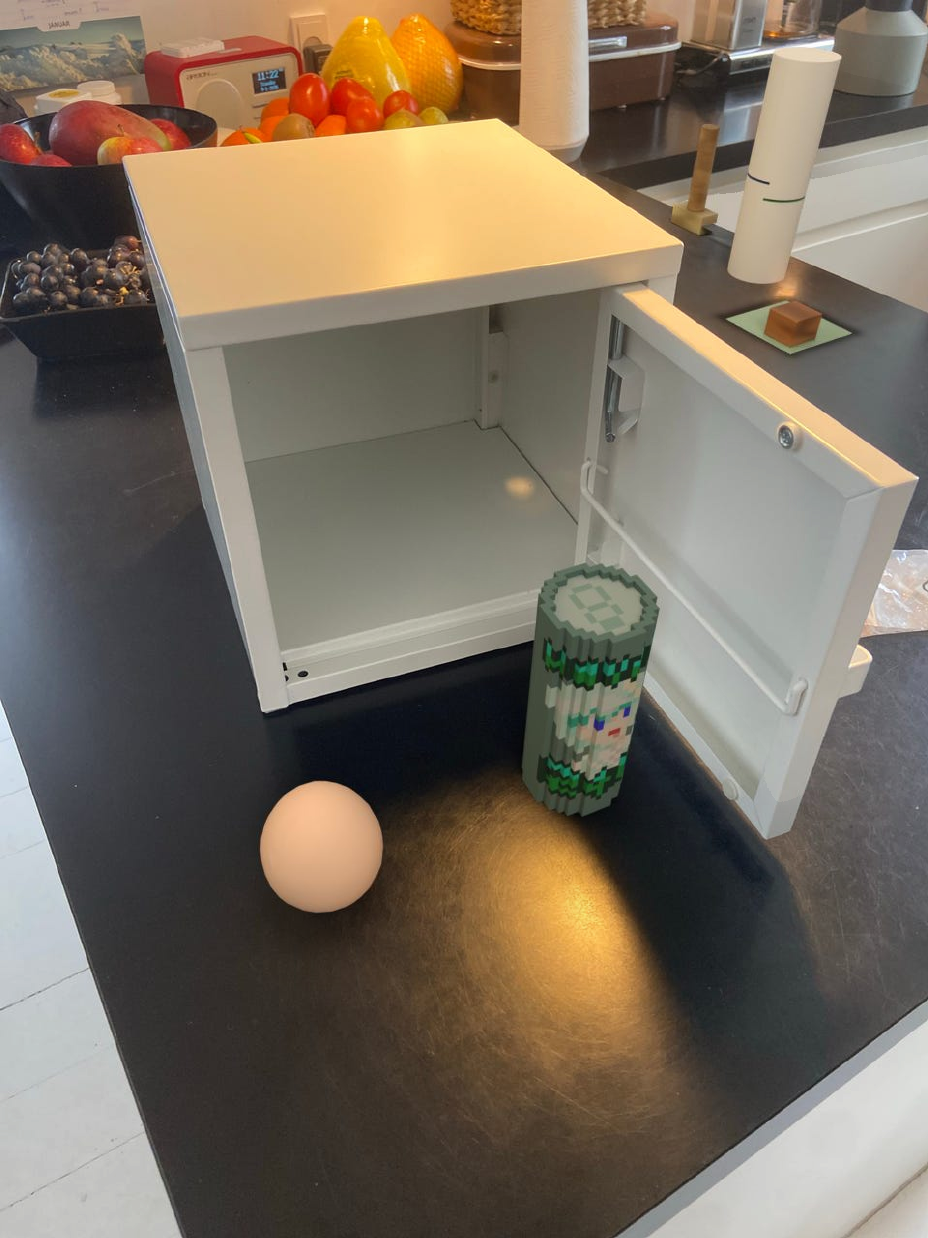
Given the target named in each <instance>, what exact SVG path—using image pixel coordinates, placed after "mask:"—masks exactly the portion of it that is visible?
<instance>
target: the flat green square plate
mask: <svg viewBox="0 0 928 1238" xmlns="http://www.w3.org/2000/svg"><path fill="white" fill-rule="evenodd" d="M789 302H790V301H788V300H784V301H780V302H777V303H773V304H770V305H767V306H764V307H760V308H757V309H754V310H750V311H746V312H744V313H740V314H737V315H734V316H730V317H727V318H725V320H727V321H728V322H730V323H732V324H734V325H736V326H737V327H739V328H741V329H743V330H745V331H746V332H748V333H749V334H751V335H754V336H756V337H758V338H760V339H761V340H763V341H765V342H767V343H768V344H770V345H772V346H774V347H776V348H778V349H780V350H781V351H783V352H784V353H785V352H786V353H787V354H789V355H793V354H795V353H798V352H801V351H804V350H807V349H810V348H813V347H816V346H819V345H821V344H825V343H829V342H831V341H834V340H838V339H840V338H844V337H846V336H849V335H851V334H853V333H852V332H851V331H849V330H847V329H845V328H842V327H841V326H839V325H837V324H835V323H833V322H831V321H829V320H827V319H824V318H823V317H821V321H820V324H819V327H818V331H817V334H816V337H815V340H812V341H809V342H805V343H802V344H799V345H796V346H793V347H788V346H786V345H784V344H782V343H780V342H778V341H777V340H775V339H773V338H771V337H769V336H767V335H765V334H764V330H765V326H766V322H767V318H768V314H769V310H770V308H772V307H776V306H779V305H782V304H786V303H789Z"/></svg>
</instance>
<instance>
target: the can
mask: <svg viewBox="0 0 928 1238" xmlns="http://www.w3.org/2000/svg"><path fill="white" fill-rule="evenodd" d="M537 595H538V596H537V607H536V615H535V616H536V617H535V624H534V625H535V627H534V636H533V646H532V647H533V648H532V655H531V657H532V658H531V667H530V678H529V686H528V687H529V688H528V698H527V709H526V718H525V730H524V738H523V739H524V740H523V748H522V750H523V751H522V759H521V760H522V761H521V769H522V775H521V780H522V782H523V783H524V785H525V787H526V788H527V790H528V791H529V793H530V795H531V796H532V798H533V799H534V801H535V803H536V804H538V803H542V802H543V804H544V805H545V807H546V808H547V810H548V811H549V812H550V811H552V810H555V811H556V813H557V814H561V813H564V814H565V816H566V817H569V816H572V815H574V814H576V813H578V814H579V815H580V816H581V817H584V816H587V815H589V814H592V813H595V812H597V811H599V810H602V809H605V808H607V807H609V806H611V801H612V799H614V798H616V797H618V796H619V791H620V788H621V785H622V781H623V777H624V773H625V767H626V764H627V758H628V755H629V750H630V745H631V741H632V736H633V733H634V732H633V731H634V728H635V723H636V718H637V714H638V710H639V706H640V700H641V695H642V691H643V688H644V687H643V686H644V682H645V677H646V673H647V668H648V664H649V659H650V655H651V651H652V646H653V643H654V637H655V632H656V629H657V628H656V627H657V623H658V619H659V615H660V609H661V608H660V607H659V605H658V604H657V602H658V597H659V596H657V595H656V594H655V592H654V591H653V590H651V588H650V587H649V586H648V585H647V584H646V583H645V581H644V580H643V579H642V578H641V577H640V576H639V575H638V574H634V575H630V574H629V573H628V572H627V571H626V570H625V569H624V568H623V567H621V568H617V569H616V568H615V566H613V565H609V566H606V565H604V563H603V562H601V563H598V564H594V565H590V566H589V564H588V563H587V562H583V563H579V564H576V565H574V566H573V565H572V566H570V567H566V568H563V569H560V570H556V571H554V572H553V576H552V578H548V579H544V583H543V586H541V589H540V592H539V593H538V594H537Z"/></svg>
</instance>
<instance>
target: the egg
mask: <svg viewBox="0 0 928 1238" xmlns="http://www.w3.org/2000/svg"><path fill="white" fill-rule="evenodd" d="M262 827H263V828H262V832H261V836H260V842H259V843H260V845H259V852H260V862H261V866H262V870H263V874H264V876H265V878H266V880H267V882H268V884H269V886H270V888H271V889H272V890H273V891H274V892H275V894H276V895H277V896H278V897H279V898H280V899H281V900H283V901H284V902H285V903H286V904H287V905H290V906H292V907H294V908H296V909H299V910H300V911H304V912H308V913H313V914H314V913H315V914H318V913H331V912H335V911H338V910H341V909H344V908H347V907H348V906H350V905H352V904H353V903H355V902H356V901H357V900H359V899H360V898H362V896H363V895H364V894H365V893H366V892H368V890H369V889H370V888H371V887H372V885H373V884H374V882H375V880H376V878H377V875H378V873H379V870H380V868H381V865H382V860H383V850H384V843H383V841H384V840H383V834H382V829H381V826H380V822H379V820H378V818H377V817H376V815H375V813H374V811H373V809H372V807H371V805H370V804H369V803H368V802H367V801H366V800H365V799H364V798H363V797H361V795H359V794H358V793H356V792H355V791H354V790H352V789H351V788H349V787H347V786H345V785H343V784H340V783H337V782H331V781H327V780H313V781H311V782H307V783H304V784H301V785H298V786H296V787H295V788H294V789H292V790H290V791H289V792H287V793H286V794H285V795H283V796H282V797H281V798H280V799H279V800H278V802H276V804H275V805H274V806H273V808H272V810H271V811H270V813H269V814H268V816H267V818H266V820H265V822H264V825H263V826H262Z"/></svg>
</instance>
